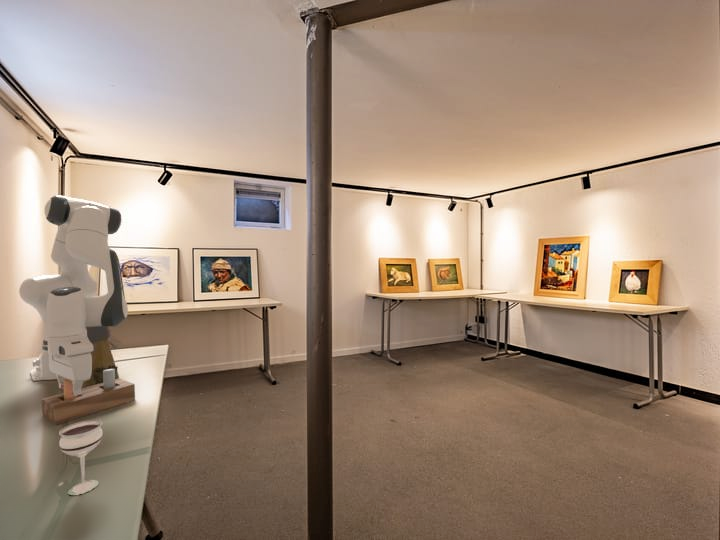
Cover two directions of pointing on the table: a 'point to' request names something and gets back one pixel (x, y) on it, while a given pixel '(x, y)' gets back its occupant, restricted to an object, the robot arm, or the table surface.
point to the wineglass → (81, 445)
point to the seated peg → (109, 378)
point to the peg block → (87, 401)
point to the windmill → (100, 349)
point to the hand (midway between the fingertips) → (70, 391)
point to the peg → (68, 390)
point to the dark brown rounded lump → (101, 374)
